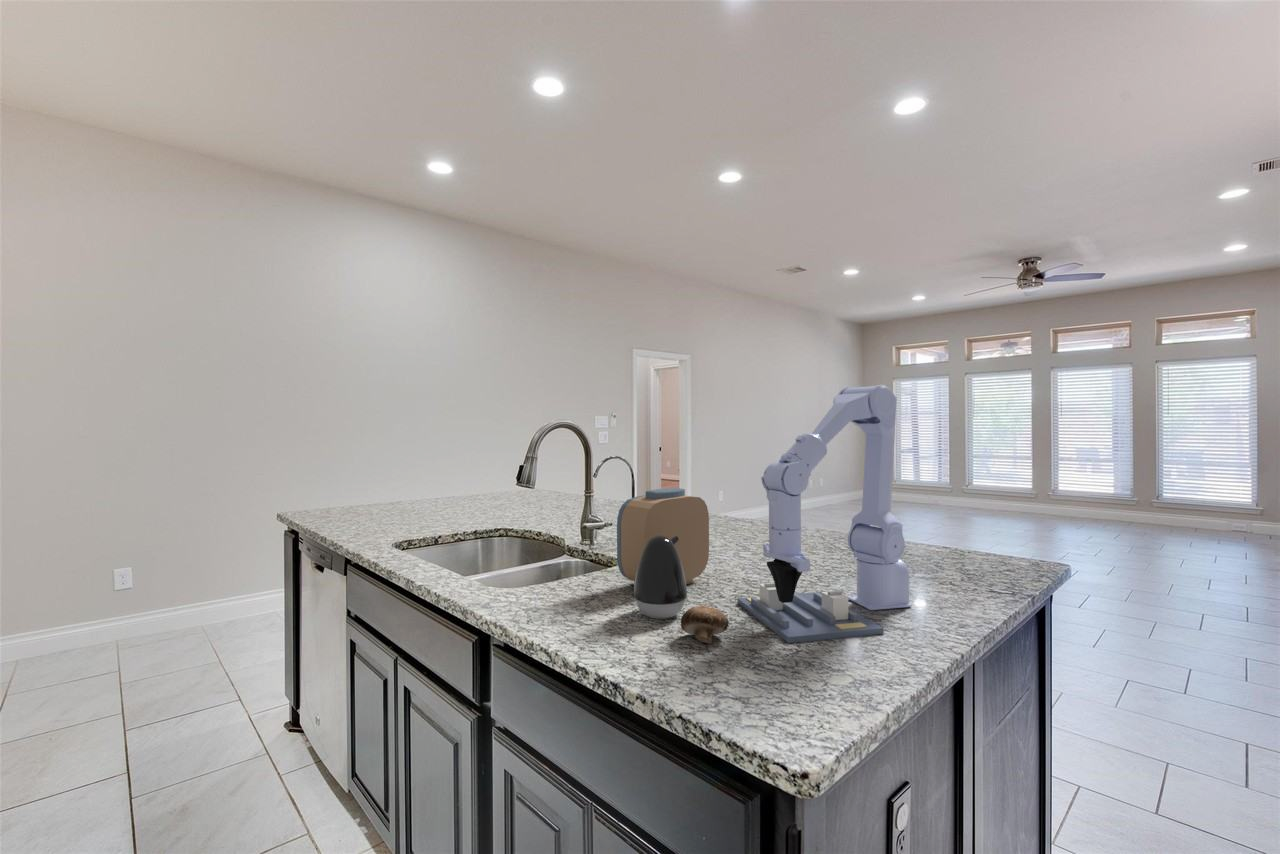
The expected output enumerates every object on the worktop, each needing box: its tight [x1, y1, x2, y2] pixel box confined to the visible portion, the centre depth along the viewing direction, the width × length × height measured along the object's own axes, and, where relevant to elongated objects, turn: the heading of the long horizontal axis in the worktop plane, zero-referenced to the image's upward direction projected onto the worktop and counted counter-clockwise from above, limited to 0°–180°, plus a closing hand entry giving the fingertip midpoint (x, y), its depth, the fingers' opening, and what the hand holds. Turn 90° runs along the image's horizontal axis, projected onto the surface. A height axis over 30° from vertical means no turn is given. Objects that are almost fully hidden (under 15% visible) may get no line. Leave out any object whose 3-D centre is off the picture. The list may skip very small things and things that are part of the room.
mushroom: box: [680, 605, 730, 645], centre depth 98 cm, size 8×8×6 cm
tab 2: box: [821, 589, 849, 620], centre depth 106 cm, size 3×4×5 cm
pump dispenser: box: [633, 536, 688, 620], centre depth 111 cm, size 10×10×15 cm
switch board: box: [737, 591, 884, 644], centre depth 109 cm, size 18×22×2 cm
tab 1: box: [759, 582, 783, 610], centre depth 112 cm, size 3×4×5 cm
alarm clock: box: [616, 487, 710, 586], centre depth 132 cm, size 21×10×22 cm, turn 133°
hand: (785, 601), depth 106 cm, fingers closed
